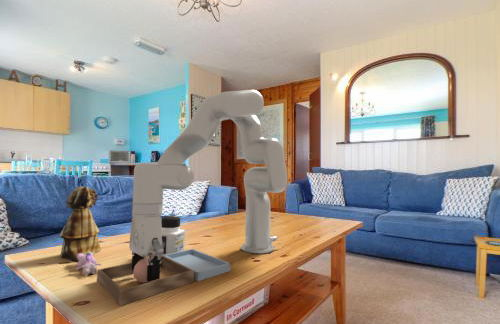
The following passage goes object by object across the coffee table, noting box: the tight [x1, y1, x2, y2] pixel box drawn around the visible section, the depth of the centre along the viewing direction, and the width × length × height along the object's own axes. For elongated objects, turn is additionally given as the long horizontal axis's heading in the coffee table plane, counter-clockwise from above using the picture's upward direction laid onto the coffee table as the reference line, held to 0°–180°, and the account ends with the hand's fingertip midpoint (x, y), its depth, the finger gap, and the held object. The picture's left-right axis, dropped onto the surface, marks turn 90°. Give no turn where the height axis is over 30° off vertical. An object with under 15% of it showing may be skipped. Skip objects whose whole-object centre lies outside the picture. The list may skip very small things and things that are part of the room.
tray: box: [164, 248, 231, 282], centre depth 81 cm, size 11×20×2 cm, turn 45°
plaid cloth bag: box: [58, 185, 102, 262], centre depth 91 cm, size 14×14×25 cm
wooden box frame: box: [96, 255, 195, 306], centre depth 69 cm, size 18×17×3 cm
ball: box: [132, 257, 149, 284], centre depth 69 cm, size 6×6×6 cm
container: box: [161, 215, 186, 255], centre depth 95 cm, size 8×8×13 cm
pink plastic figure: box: [75, 252, 102, 278], centre depth 77 cm, size 6×6×15 cm
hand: (145, 274), depth 69 cm, fingers open, 9 cm apart
